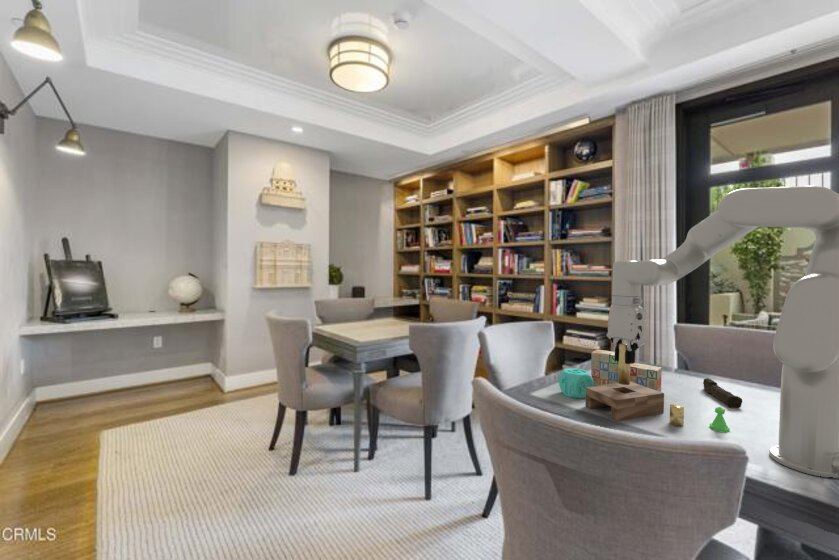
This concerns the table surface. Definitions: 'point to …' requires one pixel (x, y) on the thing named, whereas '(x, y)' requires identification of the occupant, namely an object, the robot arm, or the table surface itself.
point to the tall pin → (623, 366)
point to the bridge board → (626, 400)
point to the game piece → (719, 421)
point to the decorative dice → (575, 382)
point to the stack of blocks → (607, 371)
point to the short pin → (676, 415)
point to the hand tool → (722, 394)
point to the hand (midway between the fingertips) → (624, 361)
